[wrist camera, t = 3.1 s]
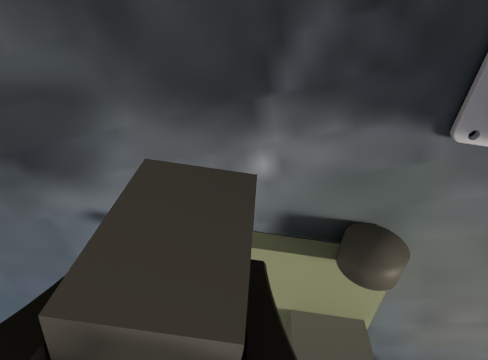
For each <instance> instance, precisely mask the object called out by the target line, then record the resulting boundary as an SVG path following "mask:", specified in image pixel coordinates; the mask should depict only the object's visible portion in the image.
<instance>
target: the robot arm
mask: <svg viewBox="0 0 488 360" xmlns="http://www.w3.org/2000/svg"><path fill="white" fill-rule="evenodd" d="M474 130H476V133H475V134H474V135H473V136H471V137H468V136H469V134H470V132H472V131H474ZM450 136H451V137H452V138H453V139H454V140H455V141H456V142H459V143H466V144H472V145H479V146H486V147H488V53H487V55H486V57H485V59H484V61H483V63H482V65H481V67H480V70H479V72H478V74H477V76H476V78H475V80H474V82H473V84H472V86H471V88H470V91H469V93H468V95H467V97H466V99H465V101H464V103H463V105H462V107H461V109H460V112H459V114H458V116H457V118H456V120H455V122H454V124H453V126H452V128H451V131H450ZM64 277H65V276H64ZM64 277H62V278H61V279H60V280H59V281H58V282H56V283H55V284H54V285H53V286H51V287H50V288H49V289H47V290H46V291H45V292H44V293H42V294H41V295H40V296H38V297H37V298H36V299H34V300H33V301H32V302H30V303H29V304H28V305H26V306H25V307H24V308H22V309H21V310H19V311H18V312H16V313H15V314H14V315H12V316H11V317H9V318H8V319H6V320H5V321H3V322H2V323H0V360H51V358H50V355H49V351H48V348H47V344H46V341H45V338H44V334H43V331H42V328H41V324H40V321H39V317H38V315H39V314H40V312H41V311H42V309H43V308H44V306H45V305H46V303H47V302H48V300H49V299H50V297H51V296H52V295H53V293H54V292H55V290H56V289H57V287H58V286H59V284H60V283H61V281H62V280H63V278H64ZM241 360H298V359H297V357H296V355H295V353H294V351H293V348H292V346H291V344H290V341H289V339H288V336H287V334H286V332H285V329H284V326H283V324H282V321H281V318H280V315H279V312H278V310H277V307H276V304H275V301H274V297H273V294H272V290H271V287H270V283H269V279H268V274H267V269H266V264H265V262H264V261H260V260H253V259H251V262H250V276H249V289H248V302H247V316H246V329H245V343H244V349H243V354H242V358H241Z"/></svg>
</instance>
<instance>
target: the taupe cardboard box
mask: <svg viewBox="0 0 488 360" xmlns="http://www.w3.org/2000/svg"><path fill="white" fill-rule="evenodd" d="M256 182H257V175H255V174H248V173H241V172H234V171H227V170H220V169H213V168H206V167H199V166H192V165H185V164H178V163H171V162H164V161H158V160H151V159H145V160H144V161H143V162H142V164H141V165H140V167H139V168H138V170H137V171H136V173H135V174H134V176H133V177H132V179H131V180H130V182H129V183H128V184H127V186H126V187H125V189H124V190H123V192H122V193H121V195H120V196H119V198H118V199H117V201H116V202H115V204H114V205H113V206H112V208H111V209H110V211H109V212H108V214H107V215H106V217H105V218H104V220H103V221H102V223H101V224H100V226H99V227H98V228H97V230H96V231H95V233H94V234H93V236H92V237H91V239H90V240H89V242H88V243H87V245H86V246H85V248H84V249H83V251H82V252H81V253H80V255H79V256H78V258H77V259H76V261H75V262H74V264H73V265H72V267H71V268H70V270H69V271H68V273H67V274H66V275H65V277H64V278H63V280H62V281H61V283H60V284H59V286H58V287H57V289H56V290H55V292H54V293H53V295H52V296H51V297H50V299H49V300H48V302H47V303H46V305H45V306H44V308H43V309H42V311H41V312H40V314H39V315H38V317H39V321H40V324H41V328H42V331H43V334H44V338H45V341H46V344H47V348H48V351H49V355H50V358H51V360H241V358H242V354H243V349H244V343H245V329H246V316H247V302H248V289H249V276H250V262H251V249H252V235H253V222H254V209H255V195H256Z"/></svg>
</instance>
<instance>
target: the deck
mask: <svg viewBox="0 0 488 360" xmlns="http://www.w3.org/2000/svg"><path fill="white" fill-rule="evenodd" d="M409 258H410V252H409V249H408V247H407V245H406V244H405V243H404V241H403V240H402V239H401V238H400V237H398V236H397V235H396V234H394V233H393V232H391V231H389V230H387V229H385V228H383V227H381V226H378V225H374V224H369V223H357V224H353V225H351V226H349V227H348V228H347V229H346V230H345V233H344V236H343V238H342V241H341V244H337V243H330V242H323V241H316V240H309V239H302V238H294V237H287V236H280V235H273V234H266V233H259V232H253V235H252V249H251V259H253V260H260V261H264V262H265V264H266V269H267V274H268V279H269V283H270V287H271V290H272V294H273V297H274V301H275V304H276V307H277V310H278V312H279V315H280V318H281V321H282V324H283V326H284V329H285V332H286V334H287V336H288V339H289V341H290V344H291V346H292V348H293V351H294V353H295V355H296V357H297V359H298V360H374V356H373V352H372V348H371V344H370V341H369V337H368V333H367V329H368V327H369V325H370V323H371V321H372V319H373V317H374V315H375V313H376V311H377V309H378V307H379V305H380V303H381V301H382V299H383V297H384V295H385V293H386V291H387V290H389V289H391V288H393V287H394V286H395V285H396V284H397V282H398V280H399V278H400V276H401V274H402V272H403V270H404V268H405V266H406V264H407V263H408V261H409Z"/></svg>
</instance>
